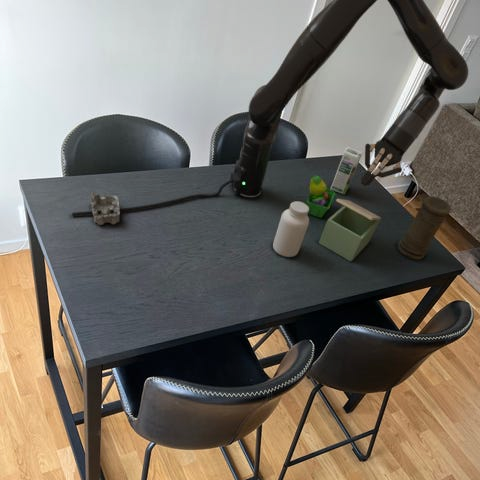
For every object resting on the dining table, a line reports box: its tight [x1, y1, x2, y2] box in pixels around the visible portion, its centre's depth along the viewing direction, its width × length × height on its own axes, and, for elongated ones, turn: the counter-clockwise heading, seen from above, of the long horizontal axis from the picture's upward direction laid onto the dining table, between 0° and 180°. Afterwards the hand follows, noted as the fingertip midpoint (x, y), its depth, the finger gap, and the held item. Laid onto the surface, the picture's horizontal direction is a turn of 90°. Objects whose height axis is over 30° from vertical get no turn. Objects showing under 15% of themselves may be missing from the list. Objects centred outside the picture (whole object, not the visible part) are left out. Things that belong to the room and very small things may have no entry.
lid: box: [335, 198, 382, 221], centre depth 137 cm, size 14×12×1 cm
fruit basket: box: [306, 175, 336, 219], centre depth 151 cm, size 11×9×11 cm
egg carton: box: [90, 192, 121, 226], centre depth 131 cm, size 11×8×4 cm
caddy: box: [318, 205, 381, 262], centre depth 142 cm, size 14×12×9 cm
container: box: [397, 195, 452, 261], centre depth 143 cm, size 9×9×18 cm
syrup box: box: [329, 146, 363, 196], centre depth 162 cm, size 6×6×14 cm
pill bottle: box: [272, 200, 310, 258], centre depth 132 cm, size 8×8×15 cm
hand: (363, 184), depth 133 cm, fingers closed
